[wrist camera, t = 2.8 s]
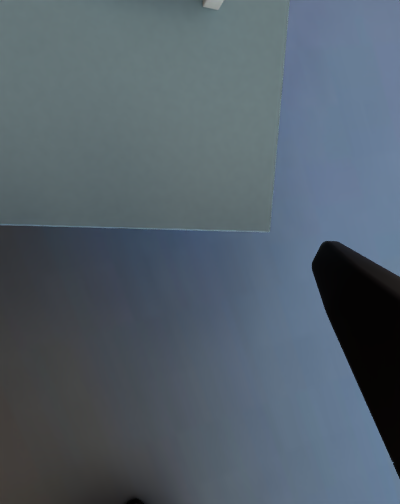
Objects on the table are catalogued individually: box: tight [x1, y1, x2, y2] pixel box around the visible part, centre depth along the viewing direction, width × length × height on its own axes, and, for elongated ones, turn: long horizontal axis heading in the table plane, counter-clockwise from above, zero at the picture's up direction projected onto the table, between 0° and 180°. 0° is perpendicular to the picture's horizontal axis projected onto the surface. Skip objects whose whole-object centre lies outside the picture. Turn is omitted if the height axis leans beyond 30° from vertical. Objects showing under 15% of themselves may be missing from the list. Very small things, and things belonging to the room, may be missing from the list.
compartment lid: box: [0, 0, 290, 232], centre depth 12 cm, size 12×12×5 cm
